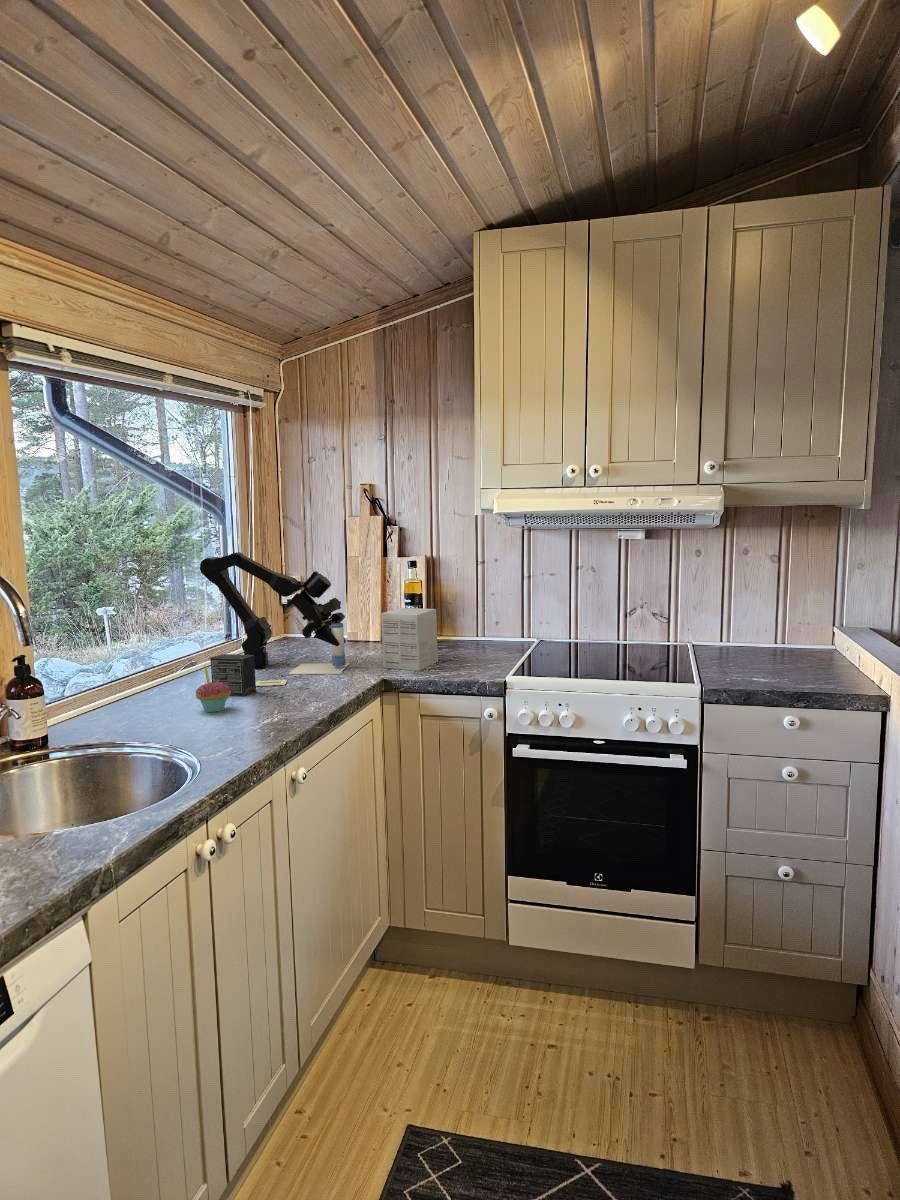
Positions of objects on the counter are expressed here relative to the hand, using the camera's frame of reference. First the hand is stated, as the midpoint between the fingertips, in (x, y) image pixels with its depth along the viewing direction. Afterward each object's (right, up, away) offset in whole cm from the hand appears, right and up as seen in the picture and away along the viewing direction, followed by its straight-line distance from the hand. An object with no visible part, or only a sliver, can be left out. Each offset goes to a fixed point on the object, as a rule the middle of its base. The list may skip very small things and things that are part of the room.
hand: (341, 644), depth 243 cm
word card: (-18, -11, -17) cm, 27 cm away
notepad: (-7, -8, +2) cm, 11 cm away
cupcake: (-26, -14, -45) cm, 54 cm away
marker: (-1, -6, +1) cm, 7 cm away
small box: (-26, -12, -27) cm, 39 cm away
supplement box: (+21, -7, +4) cm, 23 cm away
